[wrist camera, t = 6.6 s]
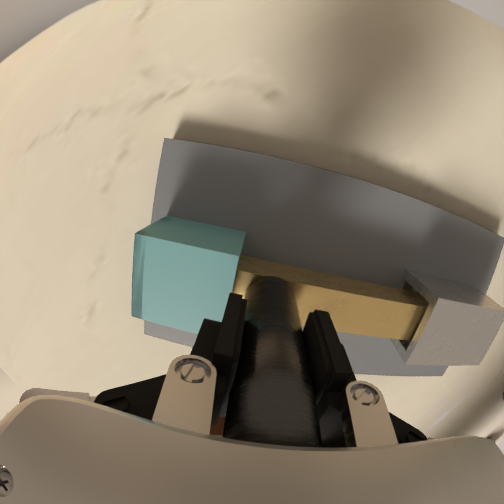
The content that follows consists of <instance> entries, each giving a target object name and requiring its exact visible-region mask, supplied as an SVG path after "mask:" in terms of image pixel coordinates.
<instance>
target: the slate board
mask: <svg viewBox="0 0 504 504" xmlns="http://www.w3.org/2000/svg"><path fill="white" fill-rule="evenodd" d="M165 216H172V217H177V218H182V219H187V220H192V221H196V222H201V223H206V224H211V225H216V226H220V227H225V228H230V229H235V230H239V231H244V232H246V235H245V240H244V244H243V249H242V254H241V255H244V256H249V257H253V258H258V259H263V260H267V261H272V262H277V263H281V264H286V265H291V266H295V267H300V268H305V269H309V270H314V271H319V272H324V273H328V274H333V275H338V276H342V277H347V278H352V279H357V280H362V281H366V282H371V283H376V284H381V285H385V286H390V287H395V288H398V286H399V283H400V281H401V278H402V276H403V273H404V270H405V269H409V270H413V271H417V272H421V273H425V274H429V275H433V276H437V277H440V278H444V279H448V280H452V281H456V282H460V283H464V284H467V285H471V286H475V287H476V288H478V289H479V290H480V291H482V292H483V293H484V294H486V292H487V289H488V287H489V284H490V282H491V279H492V276H493V274H494V271H495V268H496V265H497V263H498V260H499V257H500V253H501V250H502V247H503V244H504V238H503V237H501V236H499V235H497V234H495V233H493V232H491V231H489V230H487V229H485V228H483V227H481V226H479V225H477V224H475V223H472V222H470V221H468V220H466V219H464V218H461V217H459V216H457V215H455V214H452V213H450V212H447V211H445V210H443V209H440V208H438V207H435V206H433V205H430V204H428V203H425V202H423V201H420V200H418V199H415V198H412V197H410V196H407V195H404V194H401V193H399V192H396V191H393V190H390V189H387V188H384V187H381V186H378V185H375V184H372V183H369V182H366V181H363V180H360V179H356V178H353V177H350V176H346V175H343V174H340V173H336V172H333V171H329V170H325V169H322V168H318V167H314V166H310V165H307V164H303V163H299V162H295V161H290V160H286V159H282V158H278V157H273V156H269V155H264V154H259V153H254V152H250V151H244V150H239V149H234V148H229V147H223V146H217V145H211V144H205V143H198V142H191V141H184V140H177V139H169V138H164V143H163V148H162V153H161V159H160V165H159V170H158V177H157V183H156V189H155V196H154V204H153V211H152V220H151V224H152V223H154V222H156V221H158V220H160V219H161V218H163V217H165ZM303 328H304V326H302V331H303ZM336 332H337V331H336ZM144 334H146V335H150V336H153V337H157V338H160V339H164V340H167V341H171V342H175V343H178V344H182V345H186V346H190V347H193V346H194V343H195V341H196V338H197V335H198V334H195V333H191V332H187V331H183V330H179V329H175V328H171V327H168V326H164V325H160V324H157V323H153V322H150V321H146V320H145V323H144ZM337 335H338V338H339V340H340V343H341V344H343V346H344V348H345V351H346V353H347V356H348V359H349V361H350V364H351V367H352V370H353V372H354V374H368V375H386V376H443V374H444V373H445V371H446V369H447V368H448V366H440V365H405V363H404V362H403V360H402V358H401V357H400V355H399V353H398V352H397V350H396V349H395V347H394V345H393V344H392V342H391V340H390V339H389V338H382V337H374V336H366V335H358V334H351V333H344V332H337Z"/></svg>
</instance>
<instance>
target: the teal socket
mask: <svg viewBox="0 0 504 504" xmlns="http://www.w3.org/2000/svg"><path fill="white" fill-rule="evenodd" d="M245 235H246V232H244V231H239V230H235V229H230V228H225V227H220V226H216V225H211V224H206V223H201V222H196V221H192V220H187V219H182V218H177V217H172V216H165V217H163V218H161V219H160V220H158V221H156V222H154V223H152V224H151V225H149V226H147V227H145V228H144V229H142V230H140V231H138V232H137V233H135V240H134V255H133V273H132V316H133V317H136V318H139V319H143V320H146V321H150V322H153V323H157V324H160V325H164V326H168V327H171V328H175V329H179V330H183V331H187V332H191V333H195V334H198V333H199V330H200V327H201V325H202V322H203V320H204V318H206V319H210V320H214V321H219V322H222V319H223V315H224V312H225V308H226V304H227V301H228V297H229V293H230V292H231V293H232V290H233V285H234V280H235V276H236V271H237V266H238V262H239V258H240V255H241V254H242V249H243V244H244V240H245Z"/></svg>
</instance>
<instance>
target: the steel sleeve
mask: <svg viewBox="0 0 504 504" xmlns="http://www.w3.org/2000/svg"><path fill="white" fill-rule="evenodd" d="M398 288H400V289H405V290H410V291H414V292H419V293H420V294H421V295H422V296H423V297H424V298H425V299H426V300H427V301H428V302H429V305H428V308H427V310H426V312H425V314H424V316H423V318H422V321H421V323H420V325H419V327H418V329H417V331H416V333H415V335H414V337H413V339H412V341H410V340H400V339H391V338H389V339H390V340H391V342H392V344H393V345H394V347H395V349H396V350H397V352H398V353H399V355H400V357H401V358H402V360H403V362H404V363H405V365H440V366H453V365H479V364H480V363H481V361H482V359H483V358H484V356H485V354H486V353H487V351H488V349H489V347H490V345H491V344H492V342H493V340H494V338H495V336H496V334H497V332H498V330H499V328H500V326H501V324H502V322H503V320H504V308H503V307H501V306H500V305H499V304H497V303H496V302H495V301H494V300H492V299H491V298H490V297H488V296H487V295H486V294H484V293H483V292H482V291H480V290H479V289H478V288H476V287H475V286H471V285H467V284H464V283H460V282H456V281H452V280H448V279H444V278H440V277H437V276H433V275H429V274H425V273H421V272H417V271H413V270H409V269H405V270H404V273H403V276H402V278H401V281H400V283H399V286H398Z"/></svg>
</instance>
